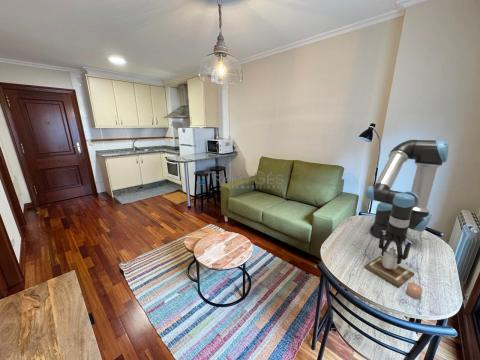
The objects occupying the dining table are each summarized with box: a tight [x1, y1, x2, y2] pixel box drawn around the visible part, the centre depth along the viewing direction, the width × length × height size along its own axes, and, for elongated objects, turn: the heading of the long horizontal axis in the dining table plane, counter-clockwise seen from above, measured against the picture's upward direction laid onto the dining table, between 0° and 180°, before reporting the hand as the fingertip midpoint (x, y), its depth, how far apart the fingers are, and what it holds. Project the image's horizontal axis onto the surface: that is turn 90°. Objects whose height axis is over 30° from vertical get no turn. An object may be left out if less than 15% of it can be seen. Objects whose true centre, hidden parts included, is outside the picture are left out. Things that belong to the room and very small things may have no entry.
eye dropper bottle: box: [383, 246, 397, 269], centre depth 101 cm, size 4×6×12 cm
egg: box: [405, 282, 423, 300], centre depth 89 cm, size 5×5×4 cm
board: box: [363, 255, 415, 289], centre depth 103 cm, size 16×16×2 cm
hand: (389, 264), depth 102 cm, fingers closed on eye dropper bottle, 5 cm apart
